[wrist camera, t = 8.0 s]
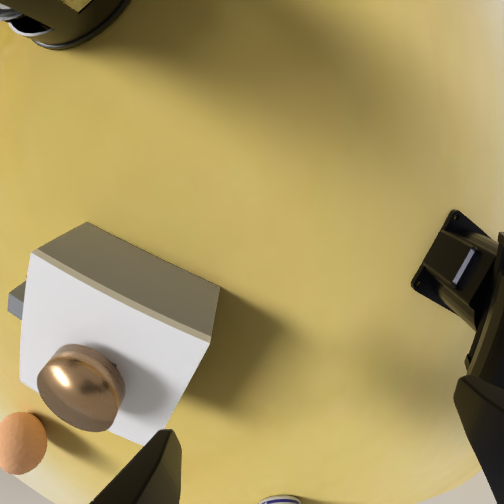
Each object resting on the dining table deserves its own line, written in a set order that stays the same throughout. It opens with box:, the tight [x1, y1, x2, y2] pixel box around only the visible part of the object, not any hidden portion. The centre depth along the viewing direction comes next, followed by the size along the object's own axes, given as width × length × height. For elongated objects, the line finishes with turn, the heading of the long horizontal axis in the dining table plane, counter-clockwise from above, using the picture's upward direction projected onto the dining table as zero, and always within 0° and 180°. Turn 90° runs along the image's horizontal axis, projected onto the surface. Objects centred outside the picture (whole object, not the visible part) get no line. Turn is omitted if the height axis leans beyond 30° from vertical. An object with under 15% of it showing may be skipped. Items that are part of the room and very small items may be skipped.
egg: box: [0, 412, 47, 475], centre depth 22 cm, size 6×6×8 cm
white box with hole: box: [8, 222, 220, 446], centre depth 18 cm, size 12×10×7 cm
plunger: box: [37, 344, 126, 432], centre depth 17 cm, size 5×5×8 cm
